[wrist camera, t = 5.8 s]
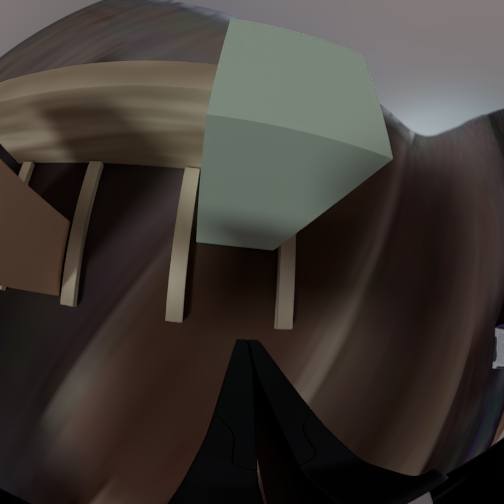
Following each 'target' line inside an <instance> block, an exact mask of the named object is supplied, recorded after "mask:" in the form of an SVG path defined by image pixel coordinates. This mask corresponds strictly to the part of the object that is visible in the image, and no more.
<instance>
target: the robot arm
mask: <svg viewBox="0 0 504 504" xmlns="http://www.w3.org/2000/svg"><path fill="white" fill-rule="evenodd" d="M309 409H310V407H309V406H308V405H307V404H306V402H305V401H304V400H303V399H302V397H301V396H300V395H299V393H298V392H297V391H296V389H295V388H294V387H293V386H292V384H291V383H290V382H289V380H288V379H287V378H286V376H285V375H284V374H283V372H282V371H281V370H280V368H279V367H278V366H277V364H276V363H275V362H274V360H273V359H272V358H271V356H270V355H269V353H268V352H267V351H266V349H265V348H264V347H263V345H262V344H261V342H260V341H259V340H245V339H237V340H236V341H235V344H234V348H233V351H232V354H231V358H230V361H229V364H228V368H227V371H226V374H225V377H224V381H223V384H222V387H221V391H220V394H219V397H218V400H217V404H216V407H215V410H214V414H213V416H212V419H211V423H210V426H209V428H208V431H207V434H206V436H205V438H204V441H203V443H202V445H201V447H200V449H199V451H198V453H197V455H196V457H195V459H194V461H193V462H192V464H191V466H190V468H189V470H188V472H187V474H186V476H185V477H184V479H183V481H182V483H181V484H180V486H179V487H178V489H177V490H176V492H175V493H174V495H173V496H172V498H171V499H170V501H169V502H168V504H264V502H263V499H262V496H261V492H260V489H259V484H258V475H257V460H258V465H259V470H260V474H261V479H262V483H263V487H264V493H265V497H266V502H267V504H504V438H502V439H501V440H500V441H498V442H497V443H496V444H494V445H493V446H491V447H490V448H488V449H487V450H485V451H484V452H482V453H481V454H479V455H478V456H476V457H475V458H473V459H471V460H470V461H468V462H466V463H465V464H463V465H461V466H459V467H458V468H456V469H454V470H452V471H450V472H449V473H447V474H445V473H443V472H441V471H439V470H437V469H434V468H433V469H431V470H429V471H427V472H425V473H423V474H421V475H419V476H410V475H405V474H401V473H398V472H394V471H391V470H388V469H384V468H381V467H378V466H375V465H372V464H369V463H367V462H365V461H363V460H361V459H360V458H358V457H357V456H356V455H355V454H354V453H352V452H351V451H350V450H349V449H348V448H347V447H346V446H345V445H344V444H343V443H342V442H341V441H339V440H338V439H337V438H336V437H335V436H334V435H333V434H332V433H331V432H330V431H329V430H328V429H327V428H326V427H325V426H324V424H323V423H322V422H321V421H320V420H319V419H318V417H317V416H316V415H315V414H314V412H313V411H312V410H311V409H310V410H309ZM0 504H31V503H29V502H27V501H25V500H23V499H21V498H19V497H17V496H15V495H13V494H11V493H9V492H7V491H5V490H3V489H1V488H0Z"/></svg>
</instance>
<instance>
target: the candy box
mask: <svg viewBox="0 0 504 504" xmlns="http://www.w3.org/2000/svg"><path fill="white" fill-rule="evenodd" d="M492 368H496V369H504V323H503V324H501V325H499V326H497V327H495V341H494V355H493V365H492Z"/></svg>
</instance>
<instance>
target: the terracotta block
mask: <svg viewBox="0 0 504 504" xmlns="http://www.w3.org/2000/svg"><path fill="white" fill-rule="evenodd" d="M70 223H71V222H70V221H69V220H67V219H66V218H65V217H64V216H63V215H61V214H60V213H59V212H58V211H57V210H55V209H54V208H53V207H52V206H51V205H49V204H48V203H47V202H46V201H45V200H44V199H42V198H41V197H40V196H39V195H38V194H37V193H36V192H35V191H33V190H32V189H31V188H30V187H29V186H28V185H27V184H26V183H25V182H23V181H22V180H21V179H20V178H19V177H18V176H17V175H16V174H15V173H14V172H13V171H12V170H11V169H10V168H9V167H8V166H7V165H6V164H5V163H4V162H3V161H2V160H1V159H0V286H5V287H10V288H15V289H21V290H26V291H32V292H38V293H44V294H51V295H57V296H59V290H60V281H61V273H62V266H63V259H64V253H65V248H66V242H67V237H68V232H69V227H70Z"/></svg>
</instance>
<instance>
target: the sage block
mask: <svg viewBox="0 0 504 504" xmlns="http://www.w3.org/2000/svg"><path fill="white" fill-rule="evenodd" d="M392 159H393V157H392V152H391V147H390V143H389V138H388V134H387V130H386V126H385V122H384V118H383V115H382V111H381V107H380V104H379V100H378V97H377V94H376V91H375V88H374V84H373V81H372V79H371V76H370V73H369V70H368V67H367V65H366V62H365V59H364V57H363V55H362V54H360V53H357V52H355V51H353V50H350V49H347V48H345V47H342V46H340V45H337V44H334V43H331V42H328V41H326V40H323V39H320V38H317V37H313V36H310V35H307V34H303V33H300V32H296V31H292V30H288V29H285V28H280V27H276V26H272V25H266V24H262V23H257V22H252V21H246V20H240V19H233V18H231V20H230V24H229V27H228V31H227V34H226V38H225V41H224V45H223V48H222V52H221V56H220V60H219V64H218V67H217V71H216V75H215V80H214V84H213V88H212V92H211V97H210V101H209V106H208V110H207V115H206V124H205V133H204V142H203V152H202V163H201V175H200V187H199V201H198V217H197V235H196V242H201V243H210V244H219V245H228V246H237V247H247V248H256V249H265V250H275V249H276V248H277V247H279V246H280V245H281V244H283V243H284V242H285V241H287V240H288V239H289V238H291V237H292V236H293V235H294V234H296V233H297V232H298V231H300V230H301V229H302V228H304V227H305V226H306V225H308V224H309V223H310V222H312V221H313V220H314V219H316V218H317V217H318V216H319V215H321V214H322V213H323V212H325V211H326V210H327V209H329V208H330V207H331V206H333V205H334V204H335V203H336V202H338V201H339V200H340V199H342V198H343V197H344V196H346V195H347V194H348V193H349V192H351V191H352V190H353V189H355V188H356V187H357V186H359V185H360V184H361V183H362V182H364V181H365V180H366V179H368V178H369V177H370V176H371V175H373V174H374V173H375V172H377V171H378V170H379V169H380V168H382V167H383V166H384V165H386V164H387V163H388V162H389V161H391V160H392Z"/></svg>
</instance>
